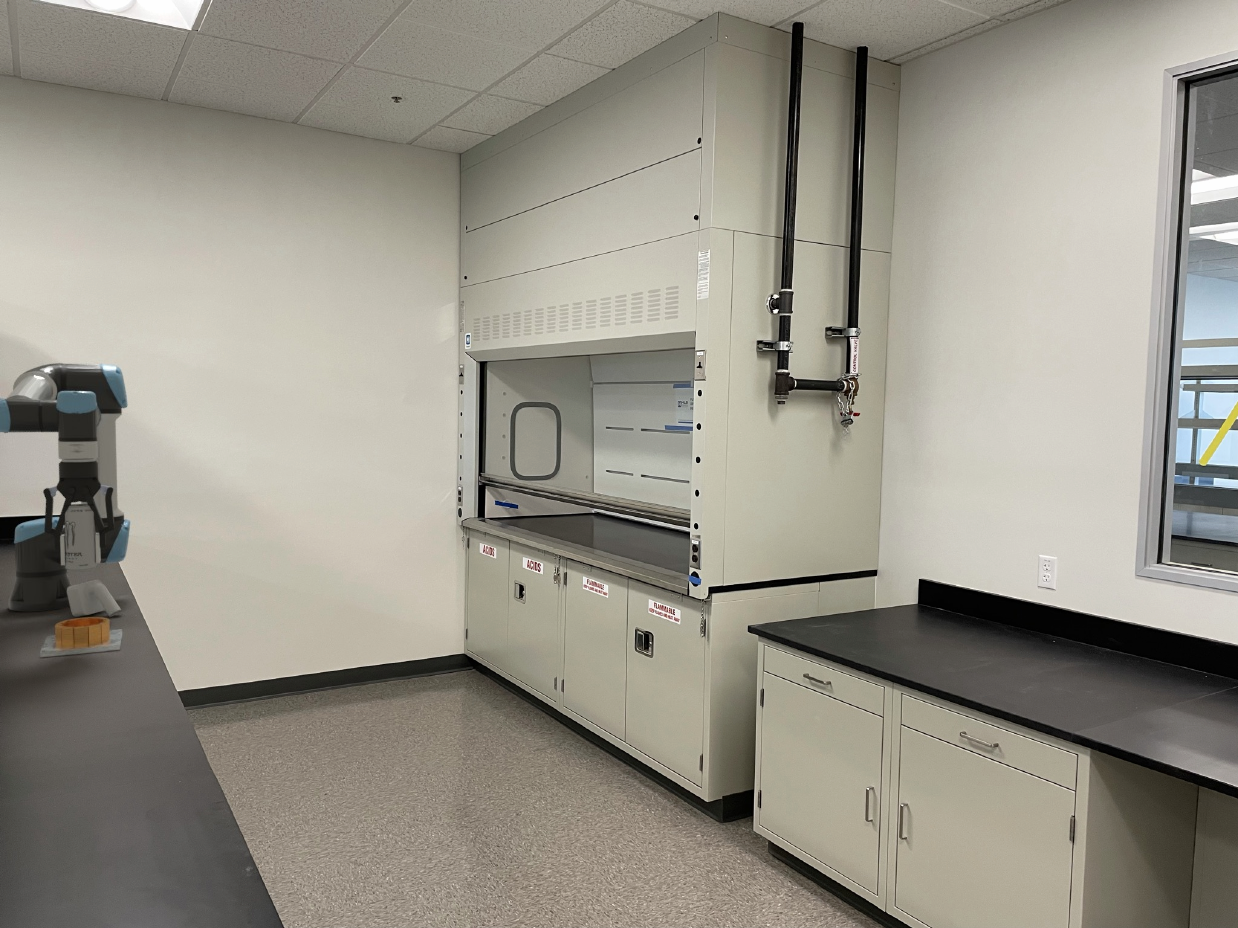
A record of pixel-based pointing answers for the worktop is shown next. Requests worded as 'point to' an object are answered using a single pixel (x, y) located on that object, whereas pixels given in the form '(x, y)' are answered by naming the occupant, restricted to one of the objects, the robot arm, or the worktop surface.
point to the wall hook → (91, 599)
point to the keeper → (82, 637)
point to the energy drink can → (80, 539)
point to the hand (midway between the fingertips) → (81, 563)
